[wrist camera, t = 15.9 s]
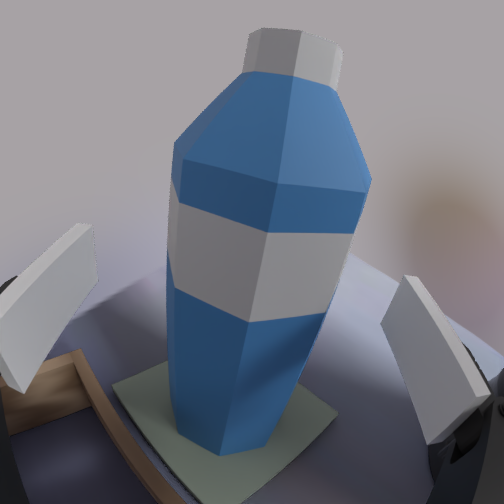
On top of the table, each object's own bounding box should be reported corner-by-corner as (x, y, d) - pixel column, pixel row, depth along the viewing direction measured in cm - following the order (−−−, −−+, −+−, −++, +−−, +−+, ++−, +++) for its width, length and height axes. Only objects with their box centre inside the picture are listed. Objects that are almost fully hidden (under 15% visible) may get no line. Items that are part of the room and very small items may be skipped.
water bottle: (182, 357, 26) (211, 47, 14) (281, 373, 26) (366, 77, 15) (156, 443, 18) (154, -1, 6) (281, 462, 18) (448, 61, 6)
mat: (231, 335, 31) (232, 328, 31) (335, 418, 23) (339, 413, 23) (113, 391, 22) (111, 385, 21) (217, 519, 14) (218, 517, 13)
